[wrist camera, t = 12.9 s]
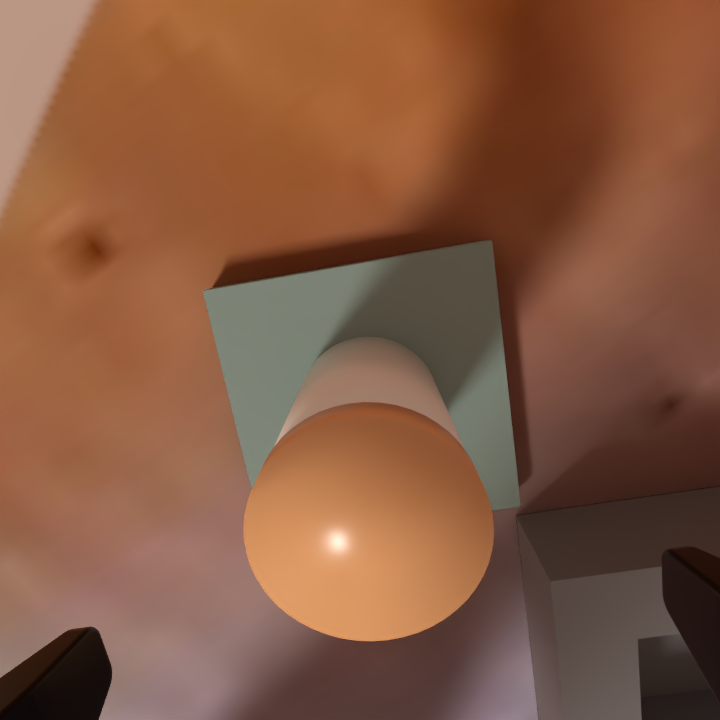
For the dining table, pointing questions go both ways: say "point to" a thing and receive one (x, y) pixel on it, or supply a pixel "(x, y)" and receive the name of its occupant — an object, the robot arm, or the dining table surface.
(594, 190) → the dining table surface
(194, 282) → the dining table surface
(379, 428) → the small lidded jar
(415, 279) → the mat
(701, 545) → the housing
